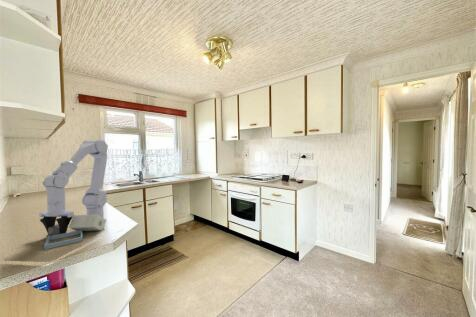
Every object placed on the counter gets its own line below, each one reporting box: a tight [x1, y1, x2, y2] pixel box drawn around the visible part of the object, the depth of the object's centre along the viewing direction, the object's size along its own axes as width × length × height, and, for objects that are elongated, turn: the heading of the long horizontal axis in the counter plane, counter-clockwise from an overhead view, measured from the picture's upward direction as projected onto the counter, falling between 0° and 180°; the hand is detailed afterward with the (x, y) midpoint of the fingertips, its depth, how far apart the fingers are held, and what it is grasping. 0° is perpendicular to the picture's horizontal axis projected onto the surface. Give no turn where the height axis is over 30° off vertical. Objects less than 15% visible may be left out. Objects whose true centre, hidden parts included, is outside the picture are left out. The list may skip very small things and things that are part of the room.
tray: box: [43, 230, 84, 250], centre depth 79 cm, size 11×11×2 cm
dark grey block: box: [45, 224, 60, 239], centre depth 84 cm, size 5×7×4 cm
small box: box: [68, 214, 107, 232], centre depth 89 cm, size 8×6×10 cm
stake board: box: [44, 222, 76, 241], centre depth 87 cm, size 9×10×6 cm
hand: (57, 233), depth 85 cm, fingers closed on dark grey block, 5 cm apart
